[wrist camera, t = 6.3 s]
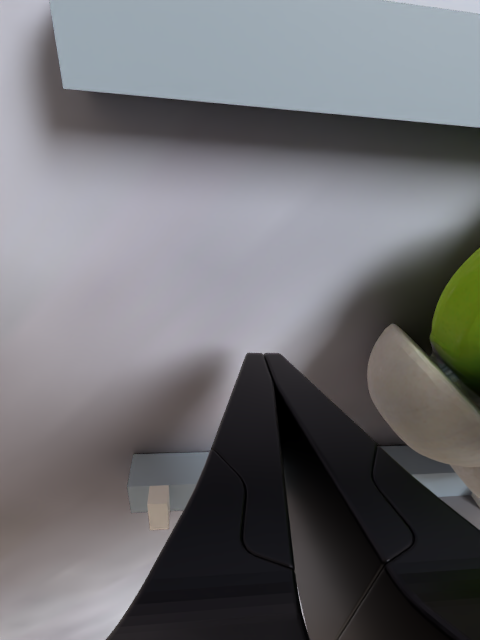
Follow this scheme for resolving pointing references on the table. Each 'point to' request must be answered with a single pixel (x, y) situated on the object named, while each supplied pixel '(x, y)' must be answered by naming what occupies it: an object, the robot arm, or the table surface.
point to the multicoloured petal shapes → (436, 379)
